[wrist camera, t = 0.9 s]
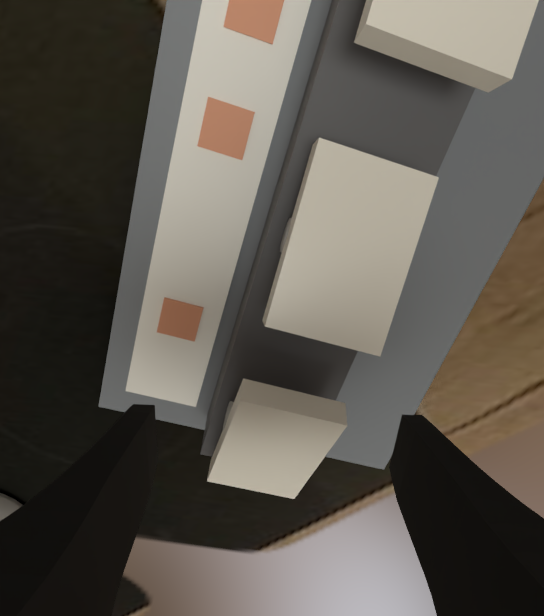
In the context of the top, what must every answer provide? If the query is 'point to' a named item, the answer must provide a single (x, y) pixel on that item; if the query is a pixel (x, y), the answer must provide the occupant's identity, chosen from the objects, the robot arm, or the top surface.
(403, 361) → the switch panel
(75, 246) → the top surface
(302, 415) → the switch far
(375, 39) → the switch near
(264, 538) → the top surface
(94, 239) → the top surface
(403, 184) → the switch middle
